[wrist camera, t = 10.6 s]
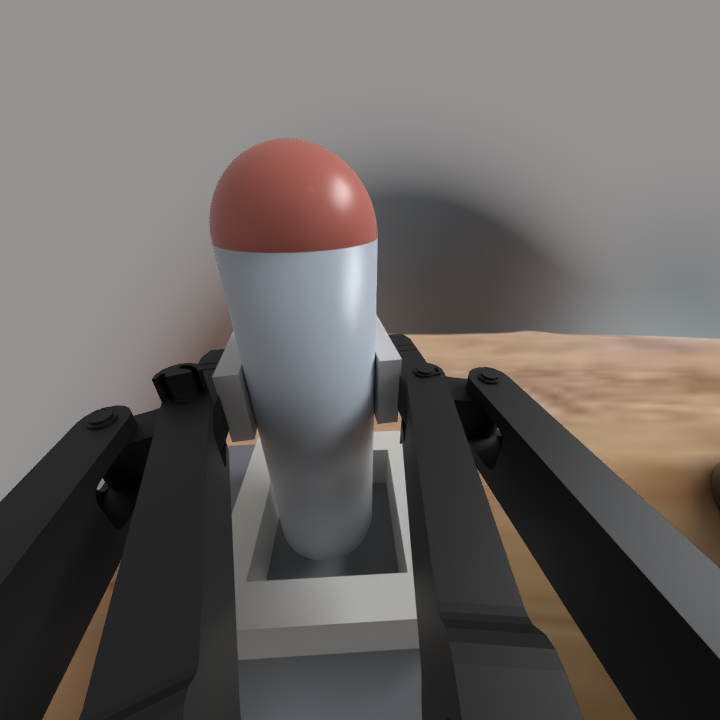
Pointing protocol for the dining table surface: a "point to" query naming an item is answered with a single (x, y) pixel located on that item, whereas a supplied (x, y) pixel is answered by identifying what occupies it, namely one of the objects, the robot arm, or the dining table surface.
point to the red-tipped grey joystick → (304, 331)
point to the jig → (325, 605)
